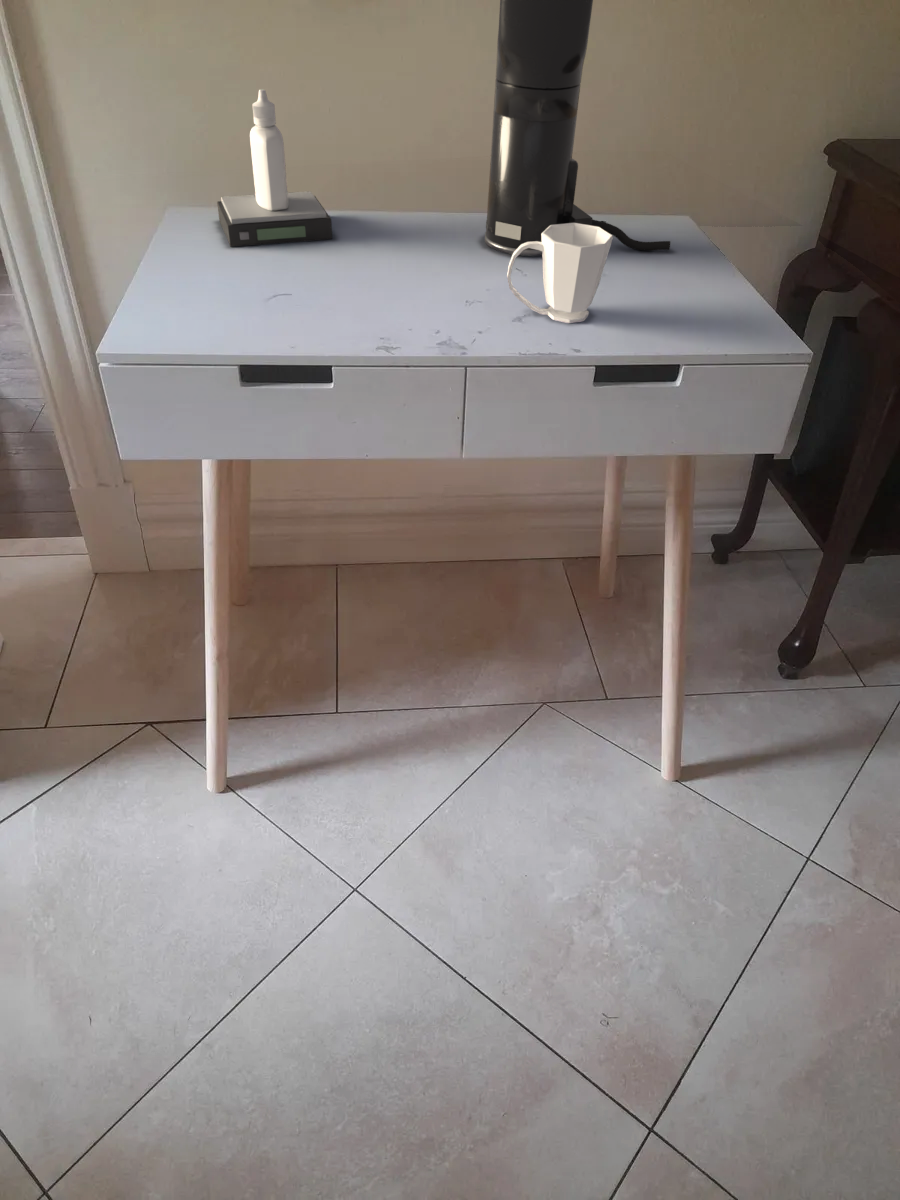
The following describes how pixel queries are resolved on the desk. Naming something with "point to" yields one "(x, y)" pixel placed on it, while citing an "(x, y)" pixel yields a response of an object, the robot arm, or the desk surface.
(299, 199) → the scale
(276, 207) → the eye dropper bottle
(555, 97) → the robot arm
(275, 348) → the desk surface
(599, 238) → the cup
